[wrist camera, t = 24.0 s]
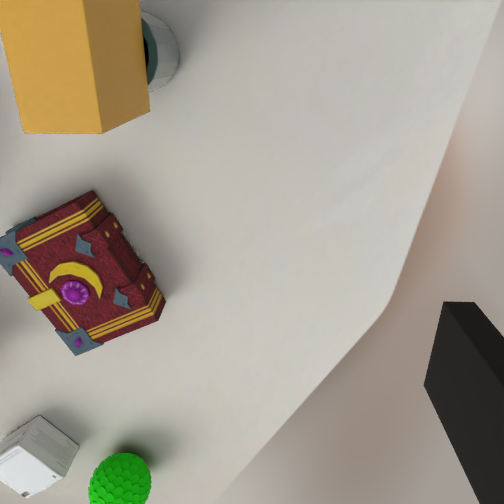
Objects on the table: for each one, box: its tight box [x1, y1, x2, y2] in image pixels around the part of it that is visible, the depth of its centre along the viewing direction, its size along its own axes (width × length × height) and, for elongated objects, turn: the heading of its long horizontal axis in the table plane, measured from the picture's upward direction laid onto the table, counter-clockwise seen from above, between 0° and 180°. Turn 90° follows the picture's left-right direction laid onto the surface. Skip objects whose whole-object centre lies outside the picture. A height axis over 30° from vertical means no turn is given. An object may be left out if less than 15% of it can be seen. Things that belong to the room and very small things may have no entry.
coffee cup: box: [140, 10, 179, 92], centre depth 33 cm, size 6×6×8 cm
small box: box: [0, 416, 79, 498], centre depth 57 cm, size 8×8×5 cm
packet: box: [0, 0, 150, 134], centre depth 25 cm, size 4×8×10 cm, turn 0°
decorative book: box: [0, 190, 166, 356], centre depth 44 cm, size 11×16×5 cm
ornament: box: [88, 452, 151, 504], centre depth 55 cm, size 8×8×10 cm
